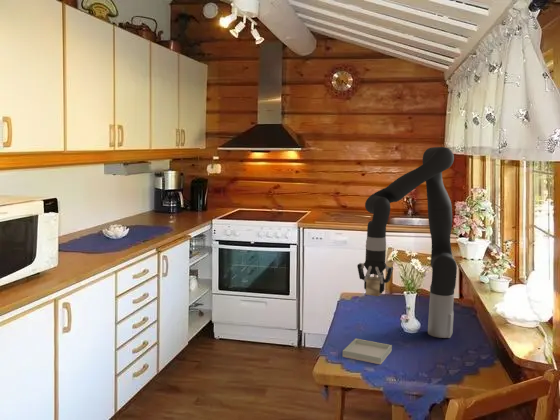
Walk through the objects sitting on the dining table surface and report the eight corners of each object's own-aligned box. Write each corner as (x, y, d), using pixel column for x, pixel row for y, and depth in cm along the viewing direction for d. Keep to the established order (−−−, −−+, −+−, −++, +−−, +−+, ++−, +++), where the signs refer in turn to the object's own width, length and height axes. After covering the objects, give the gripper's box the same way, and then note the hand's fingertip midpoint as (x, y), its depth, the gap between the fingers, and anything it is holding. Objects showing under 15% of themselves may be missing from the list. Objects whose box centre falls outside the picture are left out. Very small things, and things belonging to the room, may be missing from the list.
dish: (391, 351, 204) (391, 345, 203) (380, 364, 191) (380, 358, 191) (355, 344, 210) (355, 338, 210) (342, 356, 198) (342, 350, 197)
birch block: (382, 293, 214) (382, 278, 213) (378, 296, 209) (379, 280, 209) (369, 291, 216) (370, 276, 215) (365, 294, 212) (366, 279, 211)
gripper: (397, 248, 211) (395, 291, 213) (361, 244, 217) (359, 286, 219) (391, 251, 204) (389, 296, 206) (354, 247, 210) (353, 291, 213)
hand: (374, 291), depth 213 cm, fingers closed on birch block, 5 cm apart
